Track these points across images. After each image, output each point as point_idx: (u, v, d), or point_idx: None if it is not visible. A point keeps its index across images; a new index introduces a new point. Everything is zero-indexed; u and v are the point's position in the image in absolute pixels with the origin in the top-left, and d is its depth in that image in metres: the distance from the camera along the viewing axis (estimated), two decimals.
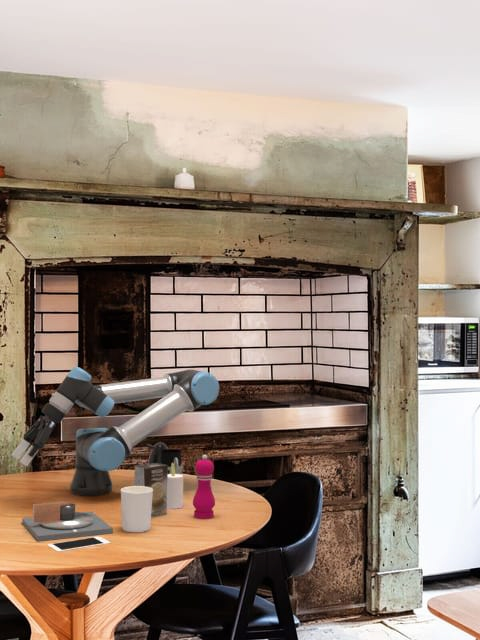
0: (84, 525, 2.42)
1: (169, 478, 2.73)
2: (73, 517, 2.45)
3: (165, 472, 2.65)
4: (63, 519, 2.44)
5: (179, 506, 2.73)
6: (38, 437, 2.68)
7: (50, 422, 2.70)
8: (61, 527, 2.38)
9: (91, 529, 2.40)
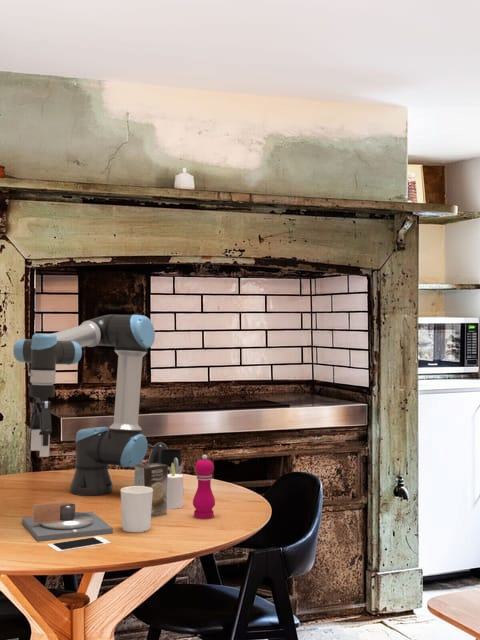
0: (84, 525, 2.42)
1: (169, 478, 2.73)
2: (73, 517, 2.45)
3: (165, 472, 2.65)
4: (63, 519, 2.44)
5: (179, 506, 2.73)
6: (41, 423, 2.44)
7: (43, 403, 2.44)
8: (61, 527, 2.38)
9: (91, 529, 2.40)
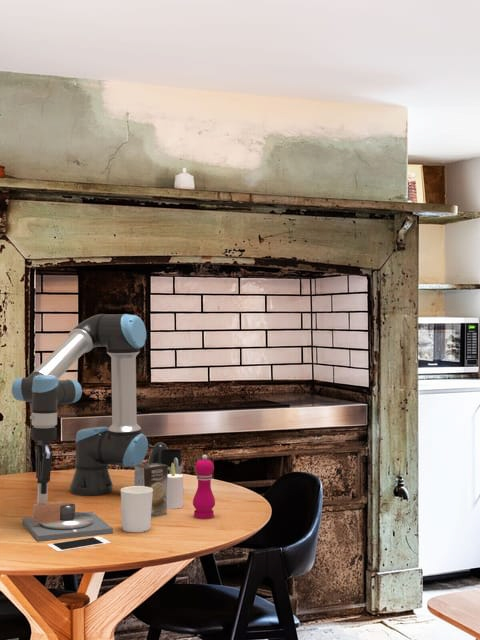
0: (84, 525, 2.42)
1: (169, 478, 2.73)
2: (73, 517, 2.45)
3: (165, 472, 2.65)
4: (63, 519, 2.44)
5: (179, 506, 2.73)
6: (41, 472, 2.46)
7: (45, 455, 2.42)
8: (61, 527, 2.38)
9: (91, 529, 2.40)
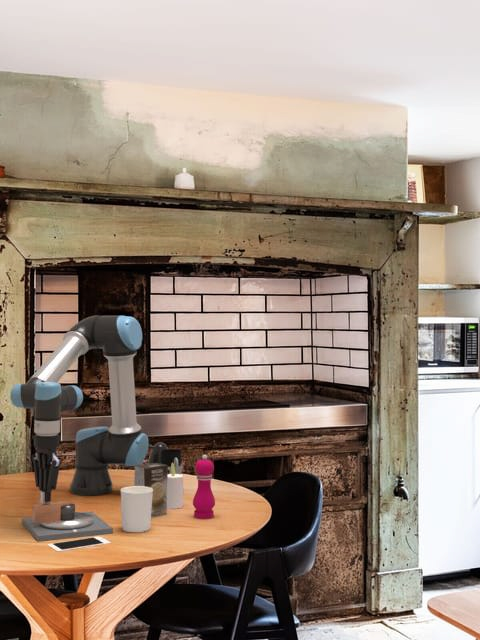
0: (86, 525, 2.42)
1: (169, 478, 2.73)
2: (73, 517, 2.46)
3: (165, 472, 2.65)
4: (64, 519, 2.44)
5: (179, 506, 2.73)
6: (46, 480, 2.43)
7: (55, 463, 2.40)
8: (63, 527, 2.38)
9: (91, 529, 2.40)
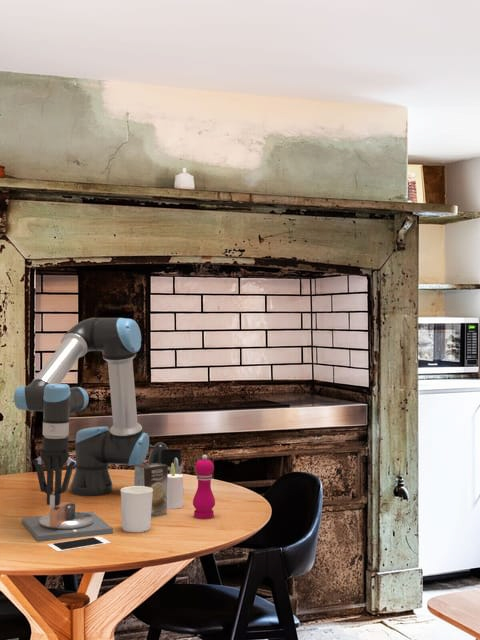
0: (93, 519, 2.48)
1: (169, 478, 2.73)
2: None
3: (165, 472, 2.65)
4: (71, 519, 2.45)
5: (179, 506, 2.73)
6: (59, 483, 2.39)
7: (74, 464, 2.39)
8: (85, 524, 2.42)
9: (91, 529, 2.40)
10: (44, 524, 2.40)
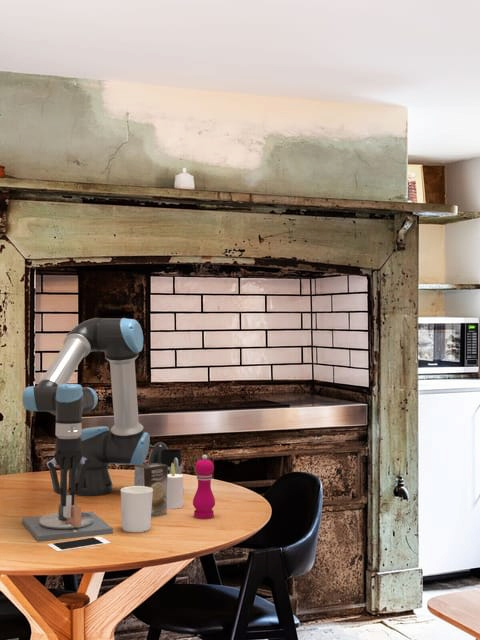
0: None
1: (169, 478, 2.73)
2: None
3: (165, 472, 2.65)
4: None
5: (179, 506, 2.73)
6: (74, 482, 2.40)
7: None
8: (93, 520, 2.47)
9: (91, 529, 2.40)
10: (60, 526, 2.38)
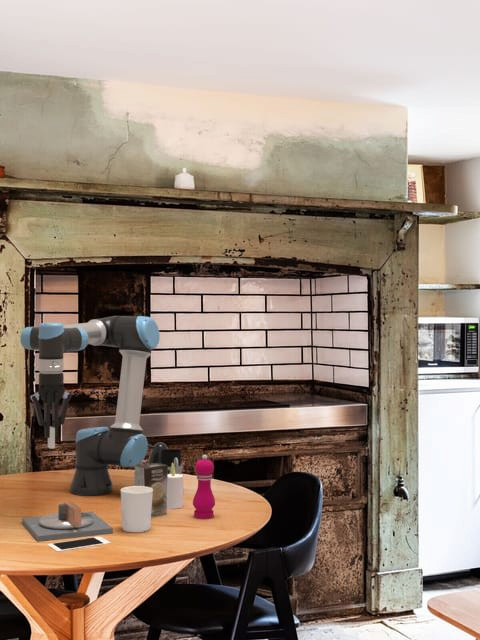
0: None
1: (169, 478, 2.73)
2: None
3: (165, 472, 2.65)
4: None
5: (179, 506, 2.73)
6: None
7: None
8: (93, 520, 2.47)
9: (91, 529, 2.40)
10: (60, 526, 2.38)
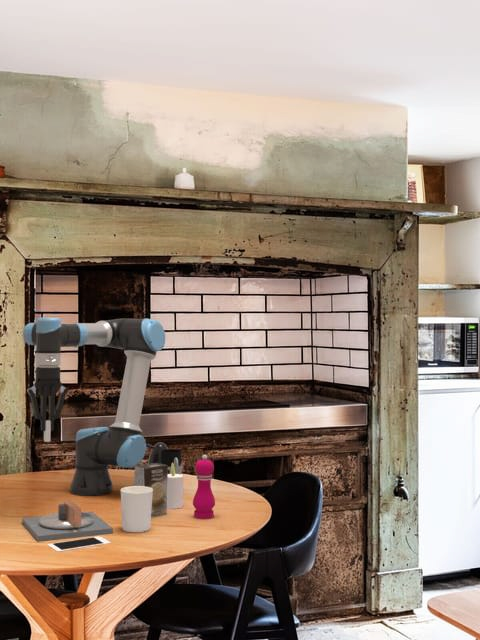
0: None
1: (169, 478, 2.73)
2: None
3: (165, 472, 2.65)
4: None
5: (179, 506, 2.73)
6: None
7: (67, 391, 2.59)
8: (93, 520, 2.47)
9: (91, 529, 2.40)
10: (60, 526, 2.38)
